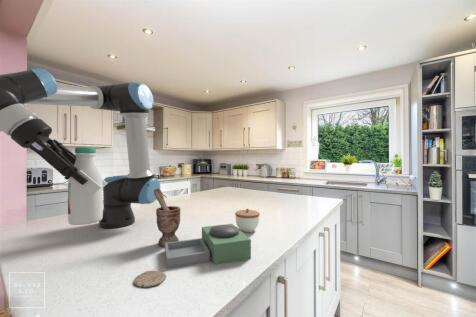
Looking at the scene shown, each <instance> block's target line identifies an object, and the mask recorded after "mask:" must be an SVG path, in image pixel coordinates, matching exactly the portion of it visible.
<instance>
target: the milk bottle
mask: <svg viewBox="0 0 476 317" xmlns="http://www.w3.org/2000/svg"><path fill="white" fill-rule="evenodd" d="M74 154H75V155H76V161H75V164H74V166H75V167H76V168H77V169H78V171H79V170H81V171H83V172H84V173H85V174H86V175H87V176H89V177H90V178H91V179H92V180H94V181H95V182H96V183H97V184H98V185H100V186H101V188H100V189H99V190H98V191H97V192H96V193H95V194H94V195H91V194H90V193H89V192H88V191H86V190H85V189H84V188H83V187H81V186H80V185H79V184H78V183H76V182H75V181H74V180H73V179H71V177H70V178H69V179H68V180H67V221H68V224H69V225H71V226H85V225H90V224H94V223H99V221H100V220H102V218H103V187H102V179H103V176H102V171H101V170H100V168H99V167H98V164H97V162H96V158H95V156H96V154H97V150H96V148H95V147H90V146H89V147H87V146H79V147H77V146H76V147H75V148H74ZM78 171H77V172H78Z"/></svg>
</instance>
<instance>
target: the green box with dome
mask: <svg viewBox="0 0 476 317" xmlns="http://www.w3.org/2000/svg"><path fill="white" fill-rule="evenodd" d="M201 238H202V240H203V242H204V243H205V245H206V247H207V248H208V250H209V252H210V261H211V262H212V263H213V265H214V266H215V265H219V264H227V263H231V262H237V261H242V260H250V259H252V240H251V238H250V237H249V236H247V235H246V233H245V232H243V231H241V230H240V229H239V228H238V226H237V225H236V226H235V225H234V224H233V223H227V224H217V225H209V226H207V225H205V226H201Z"/></svg>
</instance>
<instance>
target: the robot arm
mask: <svg viewBox="0 0 476 317" xmlns="http://www.w3.org/2000/svg"><path fill="white" fill-rule="evenodd" d="M154 101H155V100H154V96H153V93H152V91H151V90H150V88H149V87H148V86H147V85H146V84H145V83H143V82H137V81H135V82H134V81H132V82H131V81H130V82H125V83H116V84H115V83H114V84H109V85H108V84H107V85H89V86H88V87H87V86H79V85H71V84H64V83H57V81H56V79H55V78H54V76H53V75H52V74H51V73H50V72H49V71H47V70H46V69H45V68H34V69H32V68H30V69H27V70H23V71H15V72H8V73H4V74H0V132H3V133H4V134H5V135H6V136H8V137H10V139H11V140H12V141H14V142H15V143H17V145H19V146H20V147H21V148H23V149H30V150H32V151H33V152H34V153H36V154H37V155H38V156H39V157H40V158H42V159H43V160H44V161H45V162H47V163H48V164H49V165H50V166H51V167H52V168H54V170H56V171H57V172H58V173H59V174H61V176H63V177H64V178H63V179H65V180H66V181H68V179H69V178H70V177H71V179H73V180H74V181H75V182H76V183H78V184H79V185H80V186H81V187H83V188H84V189H85V190H86V191H88V192H89V193H90V194H91V195H94V194H95V193H96V192H97V191H98V190H99V189H100V188H101V186H100V185H98V184H97V183H96V182H95V181H94V180H92V179H91V178H90V177H89V176H87V175H86V174H85V173H84V172H83V171H81V170H79V171H78V169H77V168H76V167H75V166H74V164H75V161H76V155H75V153H74V152H72V151H71V150H69V149H68V148H67V147H66V146H65V145H63V143H62V142H60V141H58V140H56V139H52V138H50V135H51V134H52V132H53V129H52V127H51V126H50V125H48V124H47V123H46V122H45V121H44V120H43V119H41V118H39V116H38V114H36V113H35V112H33V111H32V110H31V109H30V108H29V107H28V106H26V105H44V106H45V105H46V106H48V105H49V106H69V107H72V106H74V107H89V108H91V109H93V110H103V111H111V112H112V111H113V112H119V115H120V116H121V117H122V118H124V119H123V120H124V127H125V139H126V147H127V157H128V169H129V170H128V171H129V173H127V174H122V175H114V176H107V177H104V179H103V178H102V187H103V218H102V220H100V221H98V227H99V228H101V229H117V228H123V227H129V226H131V225H133V224H134V223H135V222H136V217H135V214H134V211H133V208H132V204H140V205H149V204H152V203H154V202H155V201H157V199H156V197H155V195H154V190H155V189H160V190H161V183H160V181H159V180H158V178H155V174H154V172H153V171H152V170H151V167H150V154H149V143H148V142H149V141H148V134H147V133H148V132H147V117H148V116H149V115H150V113H149V112H150V110H151V109H152V108H153V106H154V103H155V102H154ZM77 171H78V172H77Z"/></svg>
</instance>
